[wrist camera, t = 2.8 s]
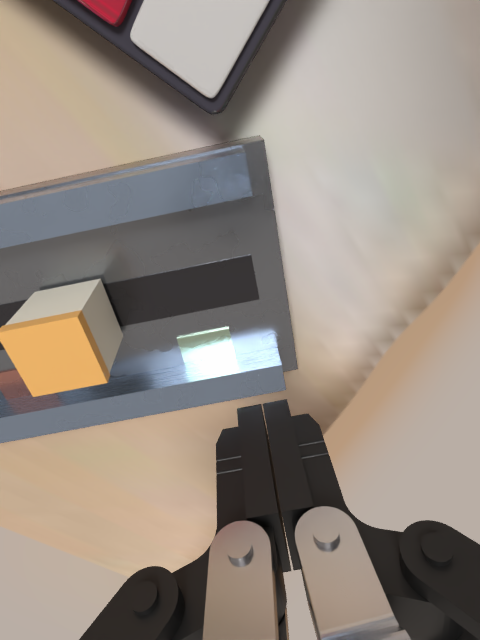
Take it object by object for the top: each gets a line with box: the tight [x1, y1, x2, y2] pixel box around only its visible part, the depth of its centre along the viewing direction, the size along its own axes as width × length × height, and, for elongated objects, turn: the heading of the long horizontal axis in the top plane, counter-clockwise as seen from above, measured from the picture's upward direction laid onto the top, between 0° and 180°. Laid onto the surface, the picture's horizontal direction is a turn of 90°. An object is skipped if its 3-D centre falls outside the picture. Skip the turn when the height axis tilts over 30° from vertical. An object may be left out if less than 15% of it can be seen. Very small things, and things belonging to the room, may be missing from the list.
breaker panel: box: [0, 135, 298, 443], centre depth 22 cm, size 13×24×4 cm, turn 101°
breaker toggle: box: [0, 279, 123, 397], centre depth 20 cm, size 4×4×4 cm
